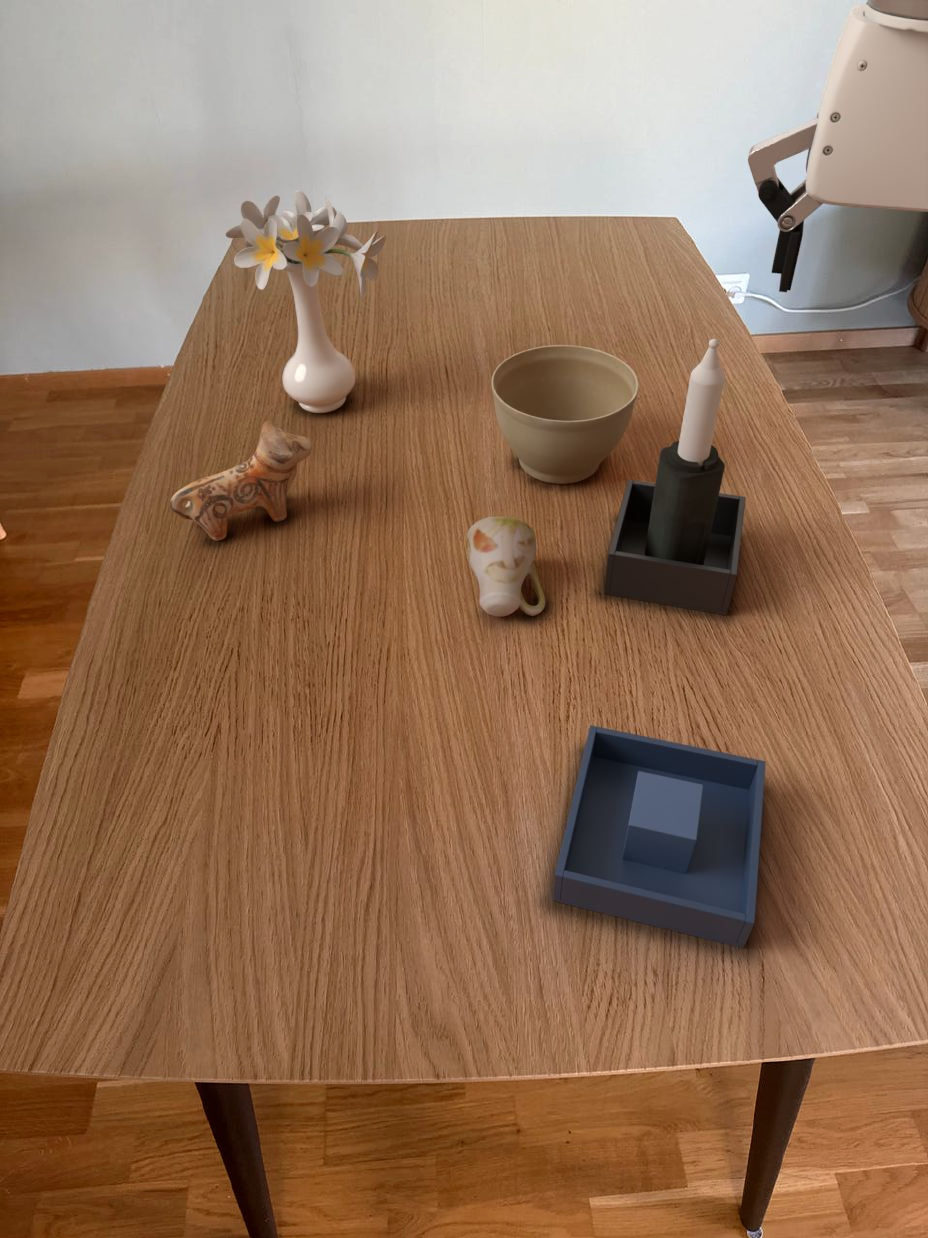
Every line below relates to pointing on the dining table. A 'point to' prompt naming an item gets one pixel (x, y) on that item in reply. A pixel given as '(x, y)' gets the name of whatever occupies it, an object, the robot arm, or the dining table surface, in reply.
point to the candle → (689, 473)
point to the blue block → (663, 822)
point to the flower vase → (306, 288)
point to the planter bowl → (563, 409)
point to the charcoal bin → (670, 578)
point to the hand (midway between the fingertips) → (859, 289)
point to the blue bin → (687, 903)
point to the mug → (503, 564)
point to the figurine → (245, 483)
